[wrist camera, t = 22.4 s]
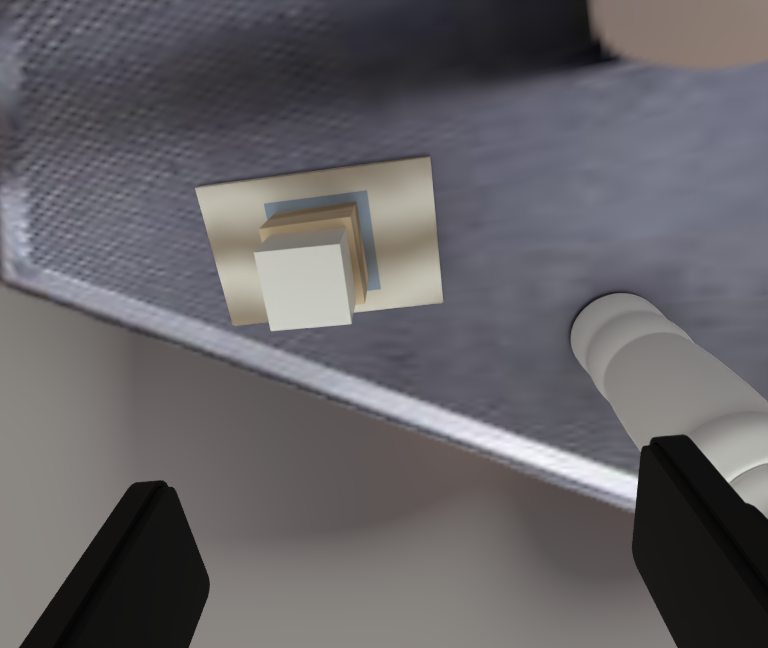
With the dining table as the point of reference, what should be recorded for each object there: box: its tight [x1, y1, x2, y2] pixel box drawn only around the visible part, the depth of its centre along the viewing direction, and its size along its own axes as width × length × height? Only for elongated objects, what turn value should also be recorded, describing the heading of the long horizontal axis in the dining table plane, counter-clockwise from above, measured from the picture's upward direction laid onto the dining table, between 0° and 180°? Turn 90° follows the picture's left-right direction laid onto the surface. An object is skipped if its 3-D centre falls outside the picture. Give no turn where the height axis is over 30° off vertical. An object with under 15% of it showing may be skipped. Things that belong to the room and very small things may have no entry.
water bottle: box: [571, 293, 768, 519], centre depth 30 cm, size 7×7×25 cm
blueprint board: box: [195, 156, 443, 326], centre depth 39 cm, size 11×17×1 cm, turn 97°
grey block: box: [254, 227, 356, 331], centre depth 32 cm, size 5×5×4 cm
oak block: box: [259, 202, 369, 305], centre depth 36 cm, size 6×6×5 cm
